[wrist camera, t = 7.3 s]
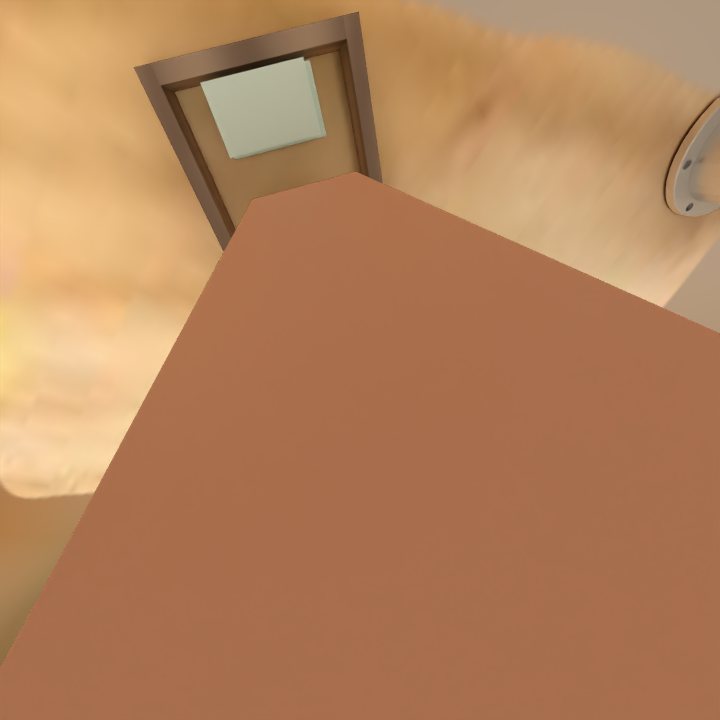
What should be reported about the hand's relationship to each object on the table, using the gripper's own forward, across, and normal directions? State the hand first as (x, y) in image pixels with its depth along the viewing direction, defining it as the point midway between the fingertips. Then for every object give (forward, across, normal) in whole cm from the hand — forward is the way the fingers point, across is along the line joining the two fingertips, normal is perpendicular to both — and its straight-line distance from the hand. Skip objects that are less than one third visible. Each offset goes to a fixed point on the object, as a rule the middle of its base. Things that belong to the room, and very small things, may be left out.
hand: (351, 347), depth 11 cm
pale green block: (+21, +1, -8) cm, 22 cm away
